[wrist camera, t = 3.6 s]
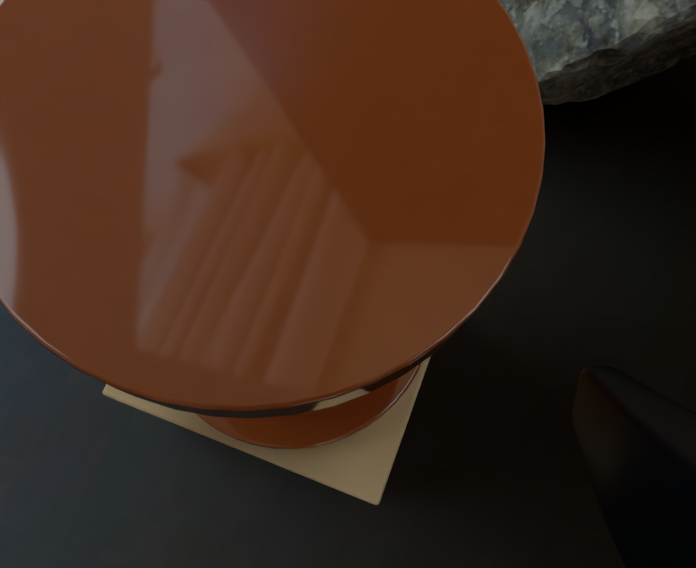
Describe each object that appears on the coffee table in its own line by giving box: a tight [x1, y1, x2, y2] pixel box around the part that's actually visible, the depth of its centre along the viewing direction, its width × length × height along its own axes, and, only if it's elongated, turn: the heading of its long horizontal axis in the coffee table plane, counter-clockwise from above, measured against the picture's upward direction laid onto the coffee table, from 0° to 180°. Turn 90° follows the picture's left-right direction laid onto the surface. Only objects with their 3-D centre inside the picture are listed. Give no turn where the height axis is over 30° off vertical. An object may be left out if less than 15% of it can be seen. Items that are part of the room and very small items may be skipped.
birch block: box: [103, 356, 431, 505], centre depth 19 cm, size 7×7×6 cm
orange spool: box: [0, 0, 546, 450], centre depth 11 cm, size 7×7×9 cm
